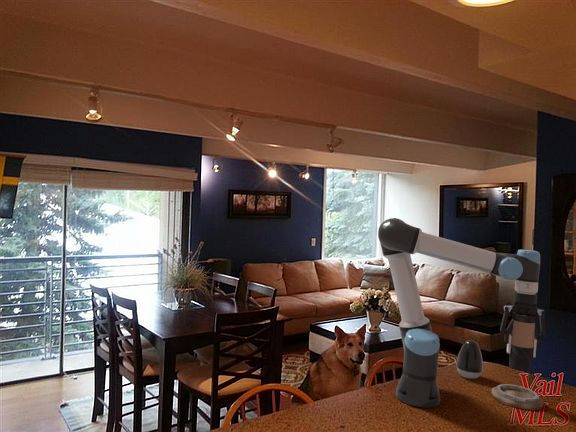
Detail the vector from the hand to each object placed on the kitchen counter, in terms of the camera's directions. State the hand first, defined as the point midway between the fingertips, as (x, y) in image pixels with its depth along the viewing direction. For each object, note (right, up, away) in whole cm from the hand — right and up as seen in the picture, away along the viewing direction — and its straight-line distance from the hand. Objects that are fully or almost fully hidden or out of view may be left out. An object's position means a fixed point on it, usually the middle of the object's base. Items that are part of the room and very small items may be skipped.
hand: (520, 354), depth 168 cm
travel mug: (0, -5, 0) cm, 5 cm away
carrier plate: (-1, -17, 0) cm, 17 cm away
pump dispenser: (-11, -16, +21) cm, 28 cm away
